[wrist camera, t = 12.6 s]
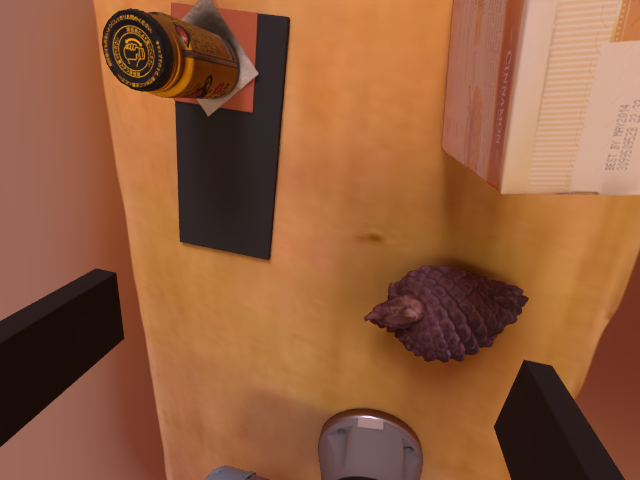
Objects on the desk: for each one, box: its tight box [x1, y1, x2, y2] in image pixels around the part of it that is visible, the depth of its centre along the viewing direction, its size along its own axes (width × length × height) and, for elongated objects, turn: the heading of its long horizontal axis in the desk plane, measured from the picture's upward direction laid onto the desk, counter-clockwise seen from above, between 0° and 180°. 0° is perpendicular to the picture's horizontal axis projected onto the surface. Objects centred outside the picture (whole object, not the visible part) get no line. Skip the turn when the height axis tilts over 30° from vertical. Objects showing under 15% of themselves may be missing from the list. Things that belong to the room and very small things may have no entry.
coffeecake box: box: [442, 0, 640, 196], centre depth 22 cm, size 15×7×20 cm, turn 2°
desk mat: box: [171, 3, 290, 260], centre depth 38 cm, size 26×12×1 cm, turn 172°
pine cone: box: [364, 266, 529, 363], centre depth 36 cm, size 18×10×10 cm
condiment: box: [102, 0, 258, 116], centre depth 29 cm, size 7×8×12 cm
